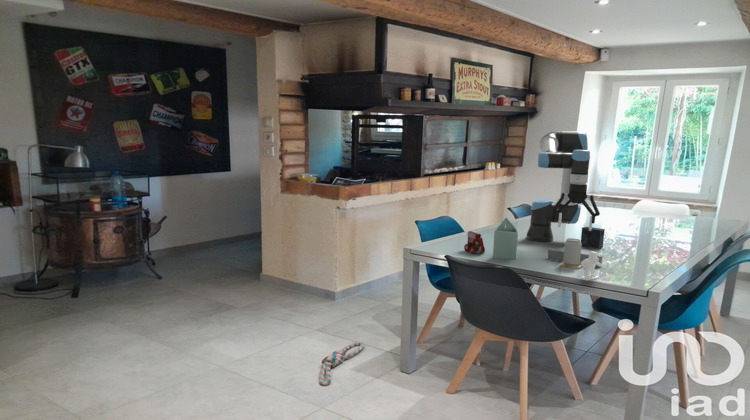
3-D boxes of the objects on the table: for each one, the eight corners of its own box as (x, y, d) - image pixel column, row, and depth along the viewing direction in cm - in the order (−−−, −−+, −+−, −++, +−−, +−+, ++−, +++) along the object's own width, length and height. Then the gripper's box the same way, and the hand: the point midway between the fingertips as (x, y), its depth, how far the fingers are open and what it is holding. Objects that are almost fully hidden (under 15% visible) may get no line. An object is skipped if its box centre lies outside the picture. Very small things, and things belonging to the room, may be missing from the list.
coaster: (559, 266, 230) (559, 264, 230) (563, 262, 238) (563, 260, 238) (579, 269, 226) (579, 267, 226) (582, 264, 233) (583, 263, 233)
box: (603, 247, 273) (605, 228, 271) (599, 249, 268) (601, 230, 266) (584, 244, 280) (585, 226, 278) (579, 245, 275) (581, 227, 274)
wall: (547, 259, 243) (548, 249, 242) (549, 257, 246) (549, 247, 245) (600, 267, 230) (601, 256, 229) (601, 265, 234) (602, 255, 233)
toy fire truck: (476, 255, 247) (477, 235, 245) (462, 250, 258) (463, 230, 256) (487, 254, 250) (488, 234, 248) (473, 249, 261) (474, 230, 259)
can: (560, 262, 235) (562, 237, 233) (575, 261, 236) (577, 237, 234) (567, 266, 228) (569, 241, 226) (582, 266, 228) (585, 241, 227)
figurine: (590, 282, 206) (592, 254, 204) (577, 277, 212) (579, 250, 210) (604, 279, 210) (606, 252, 209) (591, 275, 216) (593, 249, 214)
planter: (505, 261, 237) (507, 221, 234) (492, 257, 243) (494, 218, 240) (526, 256, 247) (528, 218, 244) (513, 253, 253) (515, 216, 250)
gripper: (548, 182, 229) (545, 226, 233) (607, 186, 216) (602, 233, 220) (552, 180, 235) (548, 224, 239) (609, 184, 223) (604, 230, 226)
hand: (574, 228), depth 229 cm, fingers open, 13 cm apart
